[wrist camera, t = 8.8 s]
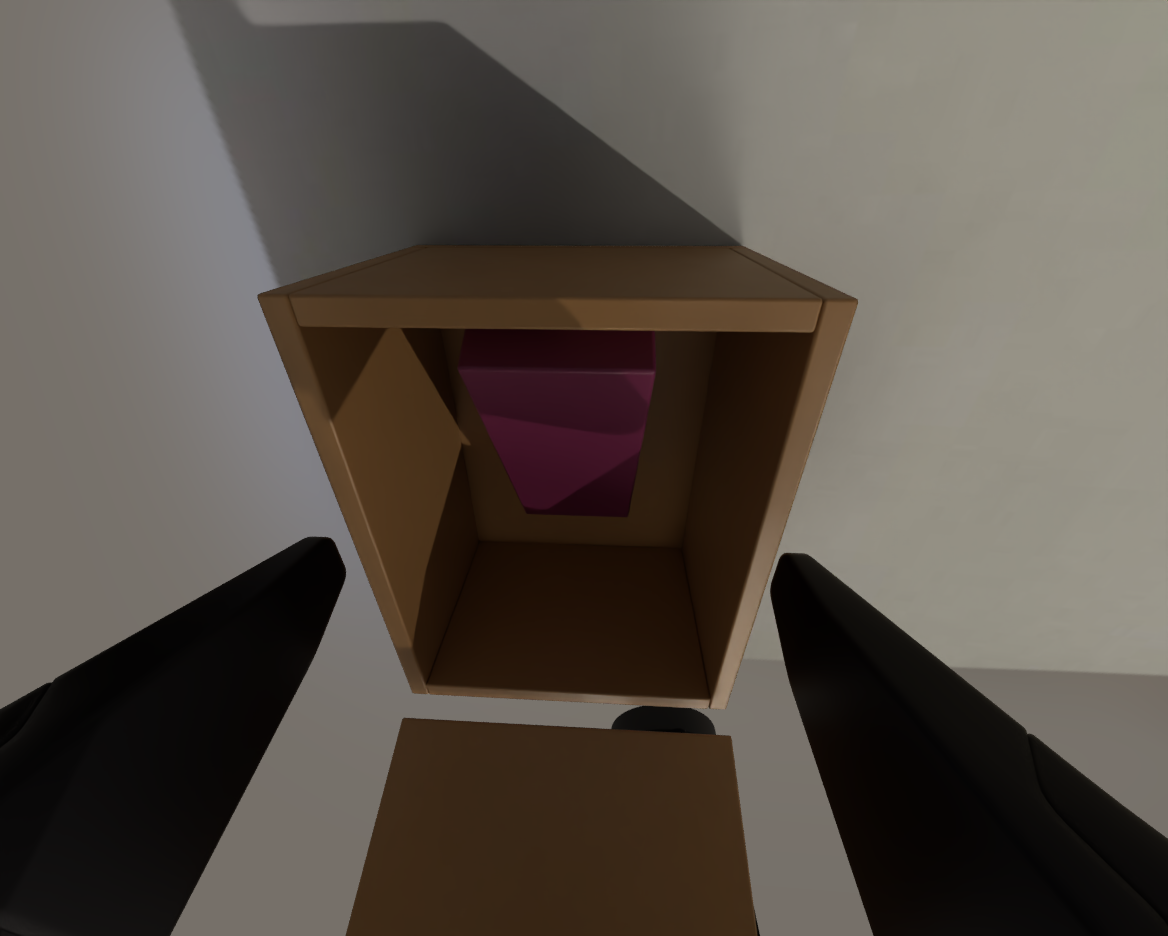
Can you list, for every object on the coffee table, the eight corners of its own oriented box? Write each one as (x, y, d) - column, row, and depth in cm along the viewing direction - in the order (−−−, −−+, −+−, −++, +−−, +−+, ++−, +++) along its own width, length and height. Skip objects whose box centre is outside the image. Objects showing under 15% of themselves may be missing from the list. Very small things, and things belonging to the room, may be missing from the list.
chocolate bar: (654, 305, 8) (656, 372, 7) (628, 477, 15) (628, 518, 15) (468, 304, 8) (455, 368, 8) (529, 474, 15) (525, 514, 15)
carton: (691, 548, 18) (726, 710, 12) (472, 540, 18) (412, 694, 13) (744, 245, 12) (861, 299, 6) (415, 244, 12) (254, 294, 7)
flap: (731, 735, 12) (727, 736, 12) (402, 717, 12) (407, 719, 12) (774, 1063, 8) (768, 1054, 9) (322, 1022, 9) (331, 1014, 9)
